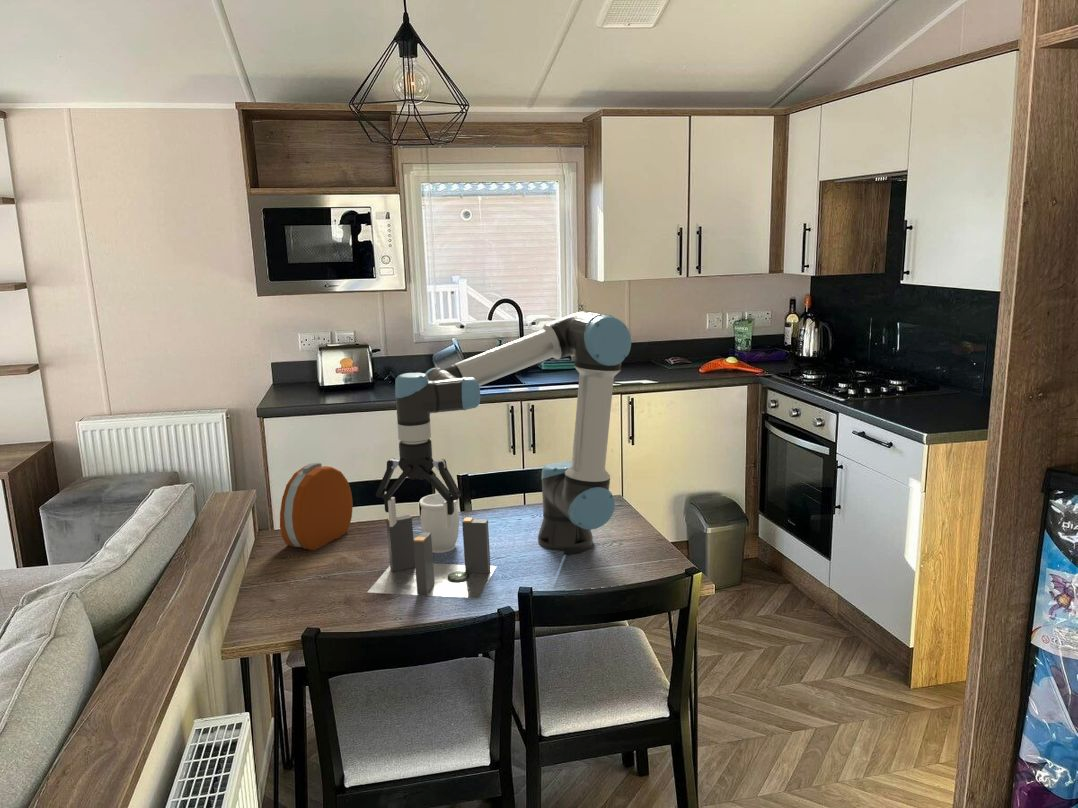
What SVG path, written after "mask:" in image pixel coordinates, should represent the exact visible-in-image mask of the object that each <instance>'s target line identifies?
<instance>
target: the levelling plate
mask: <svg viewBox="0 0 1078 808" xmlns="http://www.w3.org/2000/svg"><path fill="white" fill-rule="evenodd" d="M490 567H491V570H490V571H489V573H467V572H465V564H453V563H452V564H451V563H433V568H434V582H435V584H434V586H433V587H432V589H431V590H430V591H429V593H428V594H427V595H423V596H428V597H429V596H430V597H431V596H432V597H446V598H447V597H448V598H449V597H450V598H451V597H452V598H464V599H465V598H466V599H467V598H468V599H480V597H481V596H482V594H483V592H484V590H485V588H486V586H487V585H488V583H489V581H490V579H491V577H492V576H493V574H494V572H495V570H496V568H497V565H490ZM367 593H368V594H387V595H388V594H389V595H404V596H405V595H406V596H418V595H417V582H416V569H415V567H413V568H408V569H404V570H399V571H395V572H393V571H392V570H391V569H390V565H389V566H388V567H387V568H386V570H384V572H383V573H382V574H381V576H379V578H378V579H377V580H376V581H375V582H374V583H373V585H372V586H371V587H370V588H369V589H368V591H367Z"/></svg>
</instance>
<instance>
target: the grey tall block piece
mask: <svg viewBox="0 0 1078 808" xmlns="http://www.w3.org/2000/svg"><path fill="white" fill-rule="evenodd" d="M461 523H462V538H463V539H462V540H463V556H464V565H465V572H467V573H489V571H490V570H491V567H490V566H491V553H490V552H491V551H490V549H491V548H490V535H489V534H490V533H489V531H490V530H489V519H486V518H485V519H484V518H481V519H479V518H474V517H471V516H470V517H468V516H467V517H464V519H463V520H462V522H461Z"/></svg>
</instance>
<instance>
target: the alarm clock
mask: <svg viewBox="0 0 1078 808" xmlns="http://www.w3.org/2000/svg"><path fill="white" fill-rule="evenodd" d="M352 496H353V495H352V491H351V487H350V484H349V481H348V479H347V478H346V476H345V475H344V473H342V471H341V470H339V469H336V468H335V467H332V466H328V465H324V466H322V463H321V462H312V463H309V464H307V465H305V466H303V467H301V468H299V470H297V471H296V472H294V473H293V475H292V477H290V478H289V480H288V482H287V484H286V485H285V489H284V491H283V495H282V498H281V503H280V511H279V529H280V535H281V537H282V540H283V541H284V543H285V544H286V545H287V546H288V545H289V546H288V547H291V546H293V548H296V547H299V548H303V549H304V550H306V549H308V551H315V550H314V549H316V548H318V547H320V546H321V547H323V546H325V545H327V544H328V542H329V543H330V541H331V542H333V541H334V539H335V540H337V539H338V538H340V537H342V536H344V535H346V534H347V532H348V530H349V528H350V525H351V522H352V518H353V507H354V505H353V502H354V501H353V497H352ZM337 537H338V538H337ZM332 540H333V541H332ZM326 543H327V544H326ZM324 544H325V545H324ZM322 545H323V546H322ZM321 547H320V548H321ZM318 549H319V548H318ZM316 550H317V549H316Z"/></svg>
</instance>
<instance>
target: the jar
mask: <svg viewBox="0 0 1078 808" xmlns="http://www.w3.org/2000/svg"><path fill="white" fill-rule="evenodd" d="M444 501H445V499H444V498H443V497H442V496H441V495H440V493H439V492H437V493H432V494H428V495H424V496H423V497H421V498H420V500H419V506H420V507H421V510H420V525H421V531H422V532H430V533H431V540H432V553H435V554H436V553H437V554H439V553H440V554H441V553H448V552H451V551H453V550H454V549H456V547H457V545H456V544H457V542H458V538H459V530H460V529H459V528H460V512H459V509H458V506H457V504H458V502H459V499H458V500H454V513H453V514H452V515H450V516H451V526H450V527H449V528H448V529H445V526H444V508H443V503H444Z"/></svg>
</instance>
